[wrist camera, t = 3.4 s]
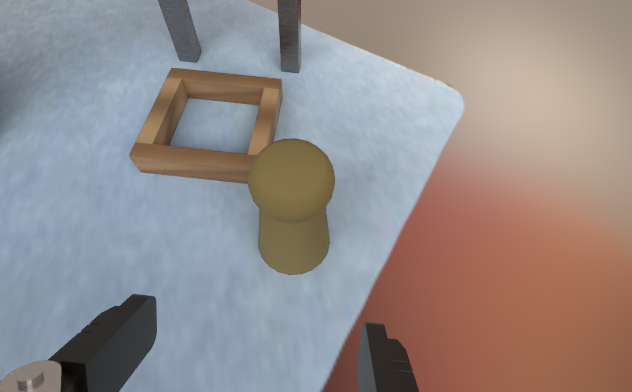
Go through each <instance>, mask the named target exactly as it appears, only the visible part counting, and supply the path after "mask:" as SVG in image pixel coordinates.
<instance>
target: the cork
mask: <svg viewBox="0 0 632 392" xmlns="http://www.w3.org/2000/svg"><path fill="white" fill-rule="evenodd" d="M334 185H335V177H334V170H333V166H332V164H331V162H330V160H329V158H328V156H327V155H326V154H325V153H324V152H323V151H322V150H320V149H319V148H318V147H317V146H316V145H314V144H312V143H310V142H308V141H305V140H300V139H283V140H279V141H275V142H273V143H271V144H270V145H268V146H266V147H265V148H263V149H262V150H261V151H260V153H259V154H258V155H257V156H256V157H255V158H254V160H253V162H252V165H251V167H250V170H249V180H248V186H249V190H250V193H251V195H252V198H253V201H254V202H255V204H256V205H257V206H258V207H259V208H260V221H259V244H258V247H259V250H260V253H261V256H262V258H263V259H264V260H265V262H266V263H267V264H268V265H269V266H270V267H271V268H273V269H275V270H276V271H278V272H281V273H284V274H288V275H295V274H303V273H306V272H308V271H311V270H313V269H314V268H315V267H317V266H318V265H319V264H320V263H321V262H322V261H323V259H324V258H325V256H326V255H327V252H328V248H329V244H330V242H329V232H328V224H327V216H326V209H325V206H326V205H327V204H328V202H329V201H330V199H331V197H332V193H333V189H334Z"/></svg>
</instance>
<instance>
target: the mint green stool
mask: <svg viewBox="0 0 632 392" xmlns="http://www.w3.org/2000/svg"><path fill="white" fill-rule="evenodd" d="M158 2H159V5H160V7H161V10H162V13H163V16H164V19H165V21H166V24H167V27H168V30H169V32H170V35H171V38H172V41H173V43H174V46H175V49H176V52H177V54H178V57H179V60H180V61H188V62H197V61H198V58H199V56H200V54H201V48H200V45H199V42H198V38H197V35H196V31H195V28H194V24H193V21H192V17H191V14H190V10H189V7H188V3H187V0H158ZM278 16H279V34H280V52H281V70H282V71H284V72H294V73H299V68H300V63H301V0H278Z"/></svg>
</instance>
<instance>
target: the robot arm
mask: <svg viewBox="0 0 632 392" xmlns="http://www.w3.org/2000/svg"><path fill="white" fill-rule="evenodd" d="M156 334H157V317H156V299H155V297H154V296H147V295H138V294H133V295H131V296H130V297H129V298H128V299H127V300H126V301H125V302H123V303H122V304H121V305H120V306H114V307H112V308H110V309H108V310H106V311H104V312H102V313H101V314H100V315H98V316H97V317H96V318H95V319H94V320H93V321H92V322H90V325H87V326H86V327H85V328H84V329H82V330H81V333H78V334H77V335H76V336H75V337H73V338H72V339H71V340H70V341H69V342H68V343H67V344H65V345H64V346H63V347H62V348H61V349H60V350H59V351H58V352H56V353H55V354H54V355H53V356H52V357H51V358H50V359H48V360H46V361H37V362H33V363H30V364H27V365H24V366H22V367H20V368H18V369H16V370H14V371H12V372H11V373H10V374H8V375H7V376H6V377H5V378H4V379H3V380H2V381H0V392H119V391H120V389H121V388H122V387H123V385H124V384H125V383H126V381H127V380H128V379H129V377H130V376H131V375H132V373H133V372H134V371H135V369H136V368H137V367H138V365H139V364H140V363H141V361H142V360H143V359H144V357H145V356H146V355H147V353H148V352H149V351H150V349H151V348H152V346H153V344H154V342H155V339H156ZM357 377H358V387H359V392H419V390H418V387H417V383H416V380H415V377H414V374H413V371H412V367H411V364H410V361H409V358H408V355H407V352H406V349H405V348H404V347H403V346H402V345H401V343H400V342H399V341H398V340H396V339H388V338H387V334H386V331H385V326H384V324H380V323H372V322H364V323H363V327H362V333H361V339H360V345H359V351H358V359H357Z"/></svg>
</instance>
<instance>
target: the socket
mask: <svg viewBox="0 0 632 392" xmlns="http://www.w3.org/2000/svg"><path fill="white" fill-rule="evenodd" d="M188 98H195V99H205V100H214V101H224V102H233V103H243V104H252V105H260V107H259V110H258V114H257V118H256V122H255V126H254V130H253V134H252V137H251V141H250V145H249V149H248V153H247V154H240V153H231V152H222V151H212V150H203V149H194V148H184V147H175V146H169V143H170V141H171V138H172V136H173V134H174V131H175V129H176V127H177V124H178V122H179V119H180V117H181V115H182V112H183V110H184V107H185V105H186V103H187V100H188ZM281 102H282V82H281V79H274V78H265V77H255V76H245V75H236V74H226V73H217V72H207V71H197V70H188V69H178V68H171V70H170V72H169V74H168V76H167V78H166V80H165V82H164V84H163V86H162V89H161V91H160V93H159V95H158V97H157V99H156V101H155V103H154V105H153V107H152V109H151V111H150V113H149V115H148V117H147V119H146V121H145V123H144V126H143V128H142V130H141V132H140V134H139V136H138V138H137V140H136V142H135V144H134V146H133V148H132V150H131V152H130V154H129V157H130V158H131V159H132V161H133V162H134V163H135V165H136V166H137V168H138V169H139V170H140V172H145V173H154V174H163V175H172V176H181V177H191V178H200V179H209V180H218V181H227V182H237V183H246V184H248V180H249V170H250V167H251V165H252V162H253V160H254V158H255V157H256V156H257V155H258V154H259V153H260V151H261V150H262V149H263V148H265V147H266V146H268V145H270V144H271V143H273V139H274V135H275V130H276V125H277V121H278V116H279V111H280V107H281Z"/></svg>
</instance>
